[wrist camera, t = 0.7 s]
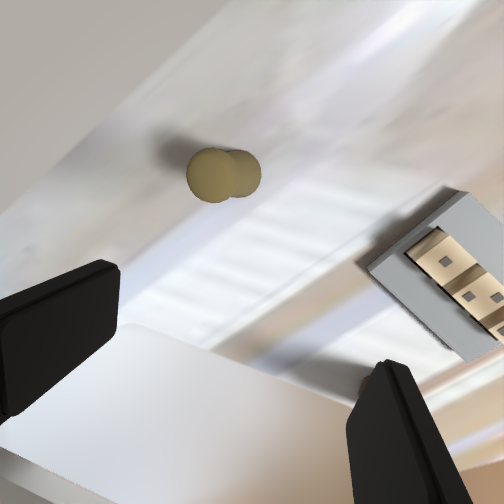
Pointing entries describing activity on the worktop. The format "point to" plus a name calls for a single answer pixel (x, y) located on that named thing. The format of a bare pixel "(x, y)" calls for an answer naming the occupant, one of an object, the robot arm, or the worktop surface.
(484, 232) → the board
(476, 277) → the key
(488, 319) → the key
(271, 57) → the worktop surface
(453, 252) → the key
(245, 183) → the cork
